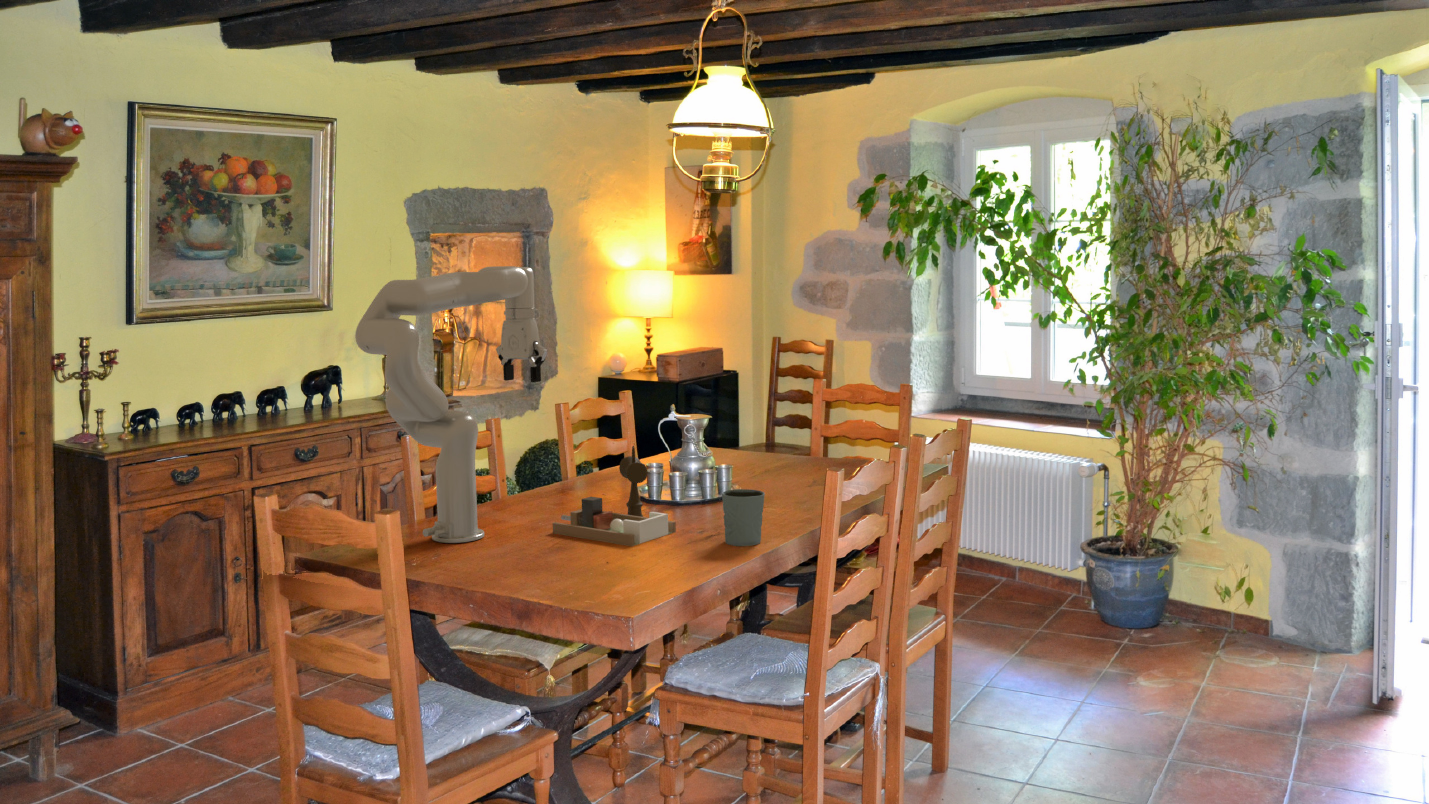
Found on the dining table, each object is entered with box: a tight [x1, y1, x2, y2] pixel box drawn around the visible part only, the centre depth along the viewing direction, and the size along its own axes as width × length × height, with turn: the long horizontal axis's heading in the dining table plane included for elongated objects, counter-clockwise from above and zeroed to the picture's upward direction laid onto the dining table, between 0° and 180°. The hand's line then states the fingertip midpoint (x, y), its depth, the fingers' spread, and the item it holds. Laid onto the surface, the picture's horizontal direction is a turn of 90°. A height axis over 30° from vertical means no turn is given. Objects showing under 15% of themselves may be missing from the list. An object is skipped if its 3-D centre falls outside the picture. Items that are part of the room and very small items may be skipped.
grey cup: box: [721, 488, 765, 547], centre depth 274 cm, size 10×10×12 cm
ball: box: [610, 519, 623, 532], centre depth 280 cm, size 4×4×4 cm
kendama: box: [618, 445, 649, 517], centre depth 297 cm, size 6×10×20 cm, turn 16°
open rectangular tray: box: [552, 508, 677, 547], centre depth 281 cm, size 17×25×6 cm
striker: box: [560, 496, 613, 530], centre depth 286 cm, size 6×14×7 cm, turn 55°
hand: (522, 381), depth 298 cm, fingers open, 9 cm apart
